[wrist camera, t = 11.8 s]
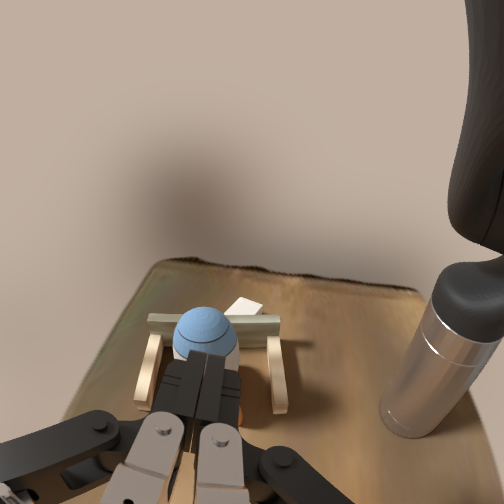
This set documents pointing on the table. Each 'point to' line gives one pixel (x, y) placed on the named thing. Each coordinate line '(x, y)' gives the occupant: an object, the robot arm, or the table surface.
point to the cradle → (249, 336)
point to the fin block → (245, 308)
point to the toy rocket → (207, 337)
